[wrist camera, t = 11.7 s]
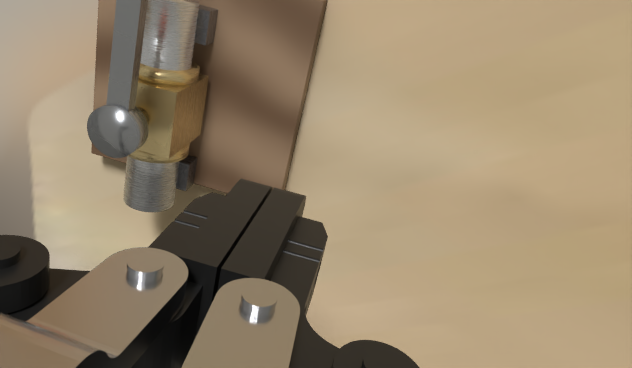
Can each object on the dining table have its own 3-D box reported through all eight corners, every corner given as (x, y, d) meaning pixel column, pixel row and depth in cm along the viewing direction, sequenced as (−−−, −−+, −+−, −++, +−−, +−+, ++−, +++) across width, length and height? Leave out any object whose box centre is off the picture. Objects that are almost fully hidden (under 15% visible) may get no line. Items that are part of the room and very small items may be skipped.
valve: (196, 190, 37) (152, 236, 31) (141, 174, 37) (86, 215, 31) (224, 2, 32) (176, 12, 25) (159, -15, 32) (96, -10, 26)
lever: (147, 156, 29) (132, 166, 27) (99, 140, 29) (83, 149, 27) (187, -140, 23) (171, -147, 21) (127, -158, 23) (107, -166, 21)
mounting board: (282, 199, 38) (277, 207, 36) (103, 146, 39) (91, 153, 37) (327, -1, 32) (323, 1, 31) (114, -56, 33) (101, -57, 32)
